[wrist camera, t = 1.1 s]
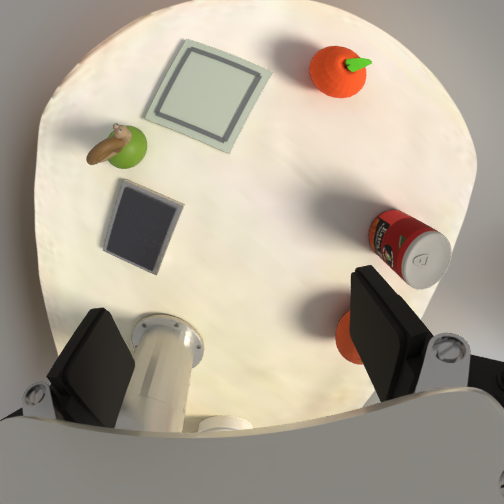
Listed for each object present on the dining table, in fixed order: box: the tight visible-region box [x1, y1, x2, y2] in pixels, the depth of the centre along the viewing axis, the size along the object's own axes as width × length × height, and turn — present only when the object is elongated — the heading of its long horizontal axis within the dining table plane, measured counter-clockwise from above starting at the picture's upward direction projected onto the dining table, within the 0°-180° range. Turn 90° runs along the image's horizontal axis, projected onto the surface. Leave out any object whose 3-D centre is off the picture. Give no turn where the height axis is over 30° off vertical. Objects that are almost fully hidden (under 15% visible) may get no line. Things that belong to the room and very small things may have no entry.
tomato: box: [335, 310, 363, 365], centre depth 40 cm, size 10×10×10 cm
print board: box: [145, 39, 273, 154], centre depth 30 cm, size 12×12×1 cm
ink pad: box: [103, 179, 185, 275], centre depth 36 cm, size 11×9×2 cm
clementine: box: [310, 46, 372, 98], centre depth 27 cm, size 8×7×7 cm
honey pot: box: [198, 415, 253, 432], centre depth 48 cm, size 13×13×18 cm
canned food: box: [369, 210, 451, 289], centre depth 34 cm, size 8×8×11 cm
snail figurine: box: [86, 123, 147, 169], centre depth 27 cm, size 5×6×12 cm
